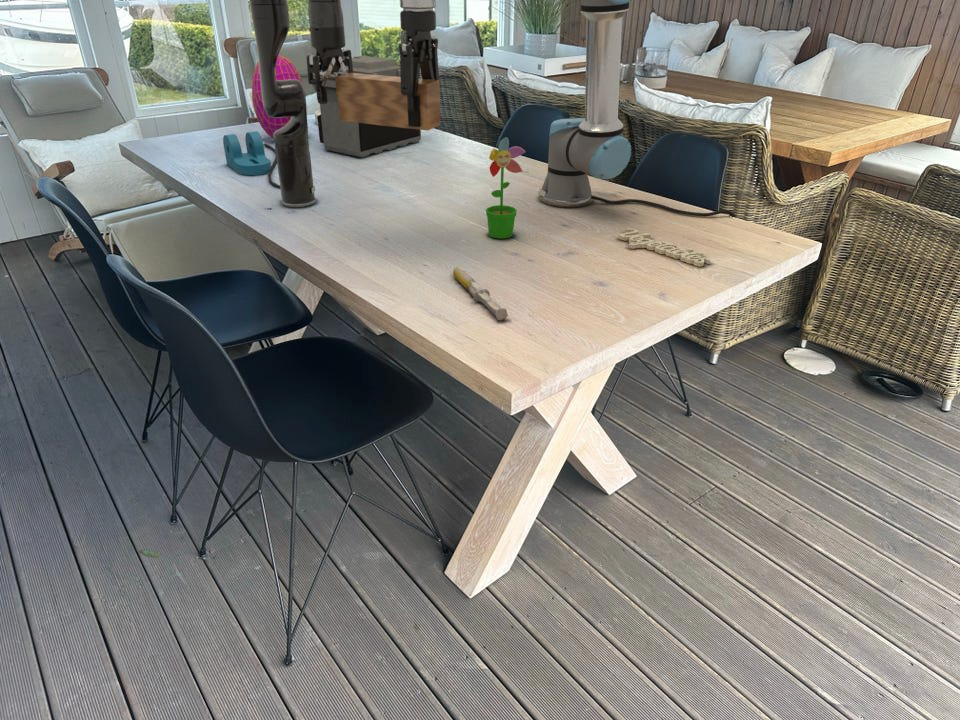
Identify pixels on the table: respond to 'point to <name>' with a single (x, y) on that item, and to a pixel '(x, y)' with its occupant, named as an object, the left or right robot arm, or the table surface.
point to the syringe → (479, 293)
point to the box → (385, 101)
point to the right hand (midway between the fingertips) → (421, 123)
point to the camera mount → (246, 154)
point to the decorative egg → (269, 125)
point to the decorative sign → (663, 247)
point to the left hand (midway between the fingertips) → (333, 100)
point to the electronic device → (360, 135)
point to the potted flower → (500, 214)
